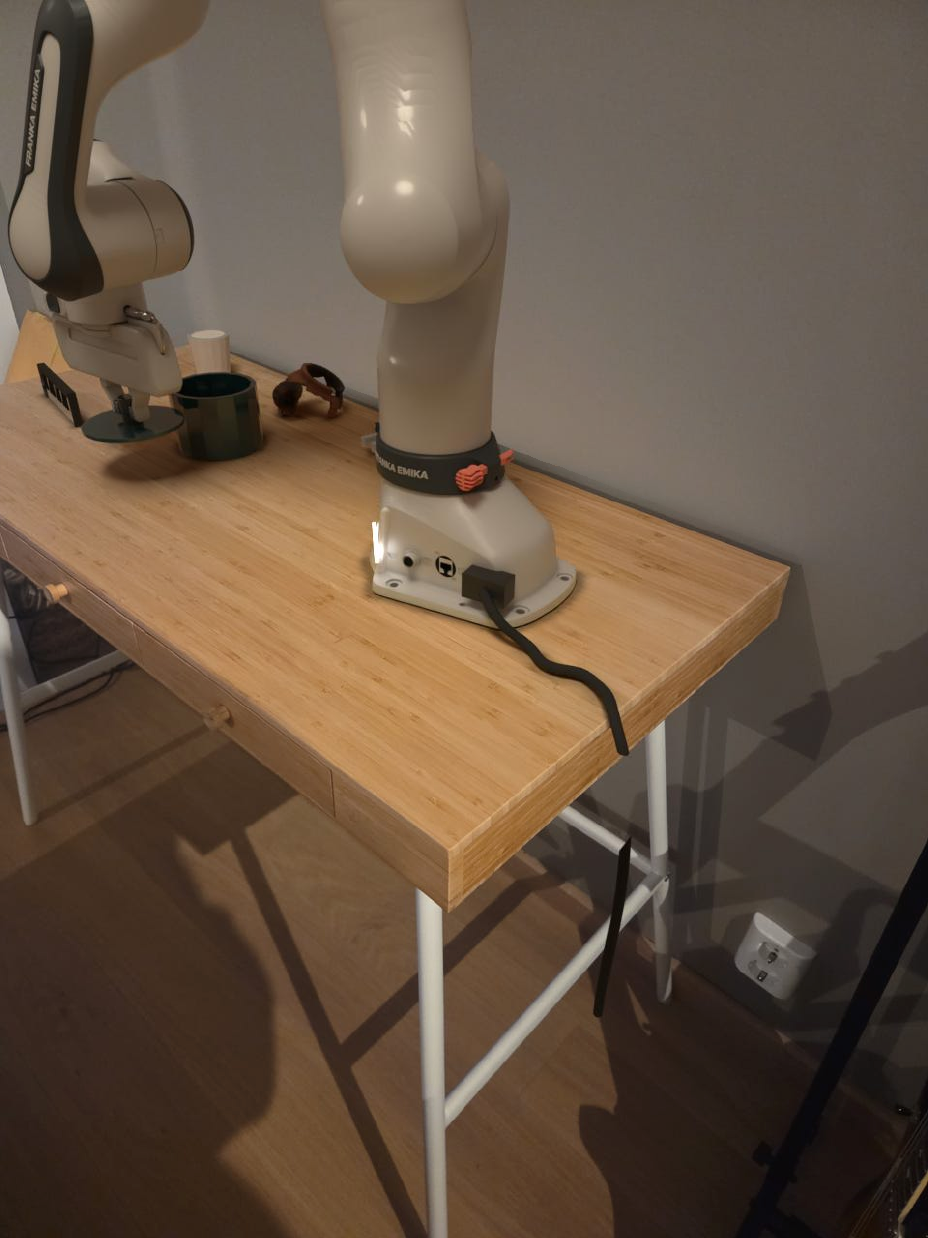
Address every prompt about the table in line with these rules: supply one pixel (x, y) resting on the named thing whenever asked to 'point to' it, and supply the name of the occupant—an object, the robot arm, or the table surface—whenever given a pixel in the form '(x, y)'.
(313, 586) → the table surface
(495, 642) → the table surface
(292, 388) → the brown arched strap
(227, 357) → the cream white cylinder
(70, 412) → the midi keyboard
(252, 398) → the tin
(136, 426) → the lid
